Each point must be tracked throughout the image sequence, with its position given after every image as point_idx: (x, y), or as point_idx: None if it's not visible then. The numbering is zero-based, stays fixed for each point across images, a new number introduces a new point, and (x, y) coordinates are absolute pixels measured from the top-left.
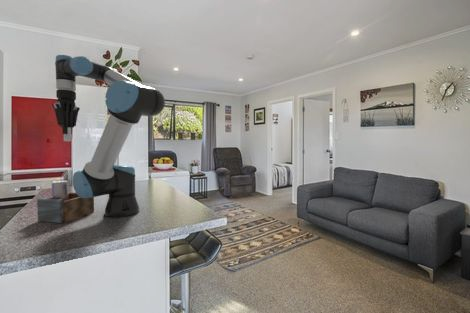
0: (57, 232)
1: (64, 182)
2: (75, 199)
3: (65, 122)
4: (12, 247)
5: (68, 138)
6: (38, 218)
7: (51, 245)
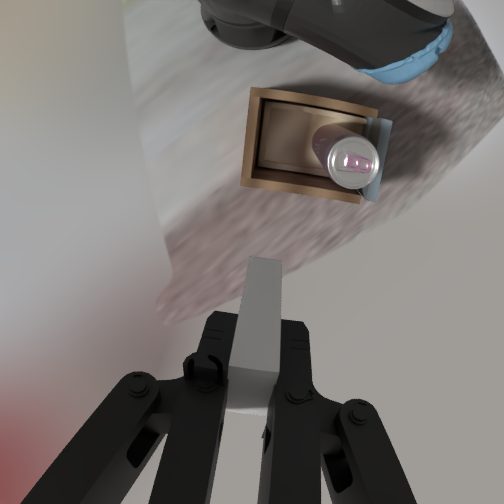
0: (422, 88)
1: (362, 138)
2: (339, 100)
3: (316, 444)
4: (481, 127)
5: (281, 277)
6: None
7: (472, 66)
